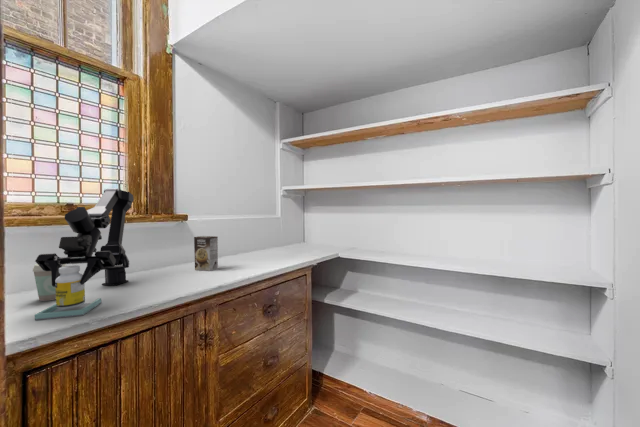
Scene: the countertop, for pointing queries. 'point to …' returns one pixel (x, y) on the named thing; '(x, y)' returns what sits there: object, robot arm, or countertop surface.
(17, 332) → the countertop surface
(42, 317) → the dock
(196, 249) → the coffee box
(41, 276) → the coffee cup
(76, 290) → the pill bottle
